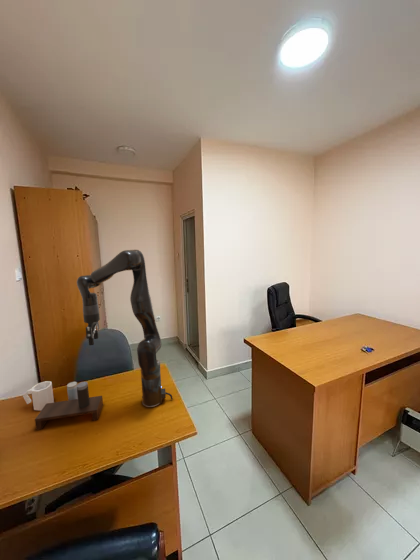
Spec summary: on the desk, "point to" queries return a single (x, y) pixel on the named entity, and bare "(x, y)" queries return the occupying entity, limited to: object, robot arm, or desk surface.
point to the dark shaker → (83, 394)
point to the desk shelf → (68, 410)
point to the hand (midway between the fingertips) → (94, 341)
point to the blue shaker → (72, 391)
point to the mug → (40, 395)
